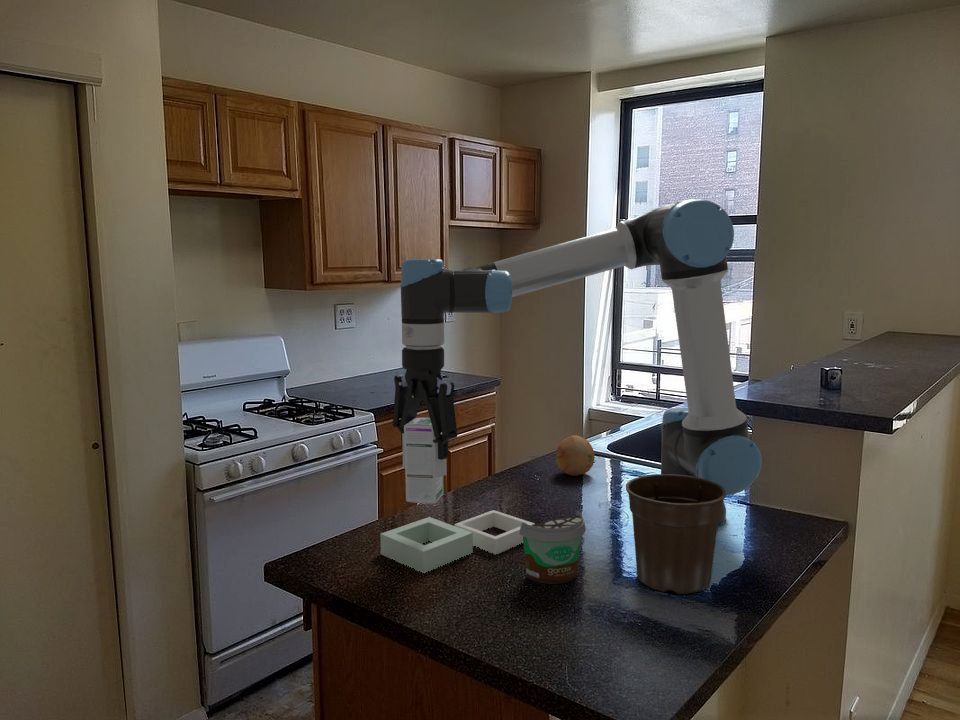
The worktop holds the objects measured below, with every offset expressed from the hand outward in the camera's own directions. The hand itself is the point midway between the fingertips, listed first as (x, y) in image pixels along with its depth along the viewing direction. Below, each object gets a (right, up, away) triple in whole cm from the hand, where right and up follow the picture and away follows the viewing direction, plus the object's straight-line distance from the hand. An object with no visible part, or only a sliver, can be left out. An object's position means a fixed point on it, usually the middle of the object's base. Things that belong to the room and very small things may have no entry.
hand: (424, 471), depth 133 cm
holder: (+13, -15, +9) cm, 22 cm away
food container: (+24, -17, -8) cm, 30 cm away
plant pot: (+43, -17, -9) cm, 47 cm away
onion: (+34, -9, +50) cm, 61 cm away
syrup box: (0, -5, +1) cm, 5 cm away
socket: (0, -16, +2) cm, 16 cm away
